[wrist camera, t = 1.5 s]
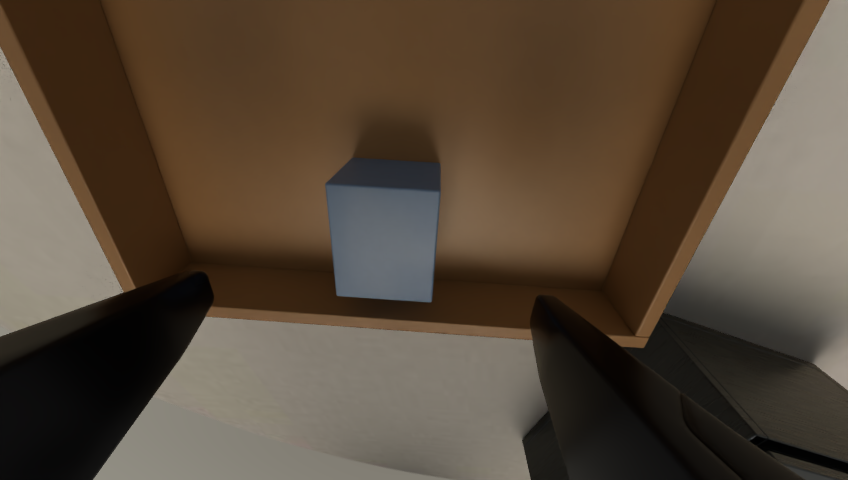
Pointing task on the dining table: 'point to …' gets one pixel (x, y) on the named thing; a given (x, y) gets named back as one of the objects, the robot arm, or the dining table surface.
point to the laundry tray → (408, 141)
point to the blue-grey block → (384, 228)
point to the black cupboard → (736, 400)
